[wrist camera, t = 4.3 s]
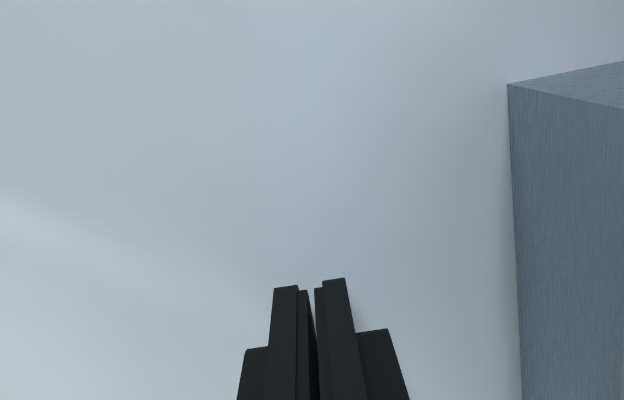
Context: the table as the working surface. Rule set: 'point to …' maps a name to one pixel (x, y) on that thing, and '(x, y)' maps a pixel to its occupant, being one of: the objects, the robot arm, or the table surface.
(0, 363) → the table surface
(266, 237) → the table surface
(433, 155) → the table surface
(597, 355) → the gray rectangular block
